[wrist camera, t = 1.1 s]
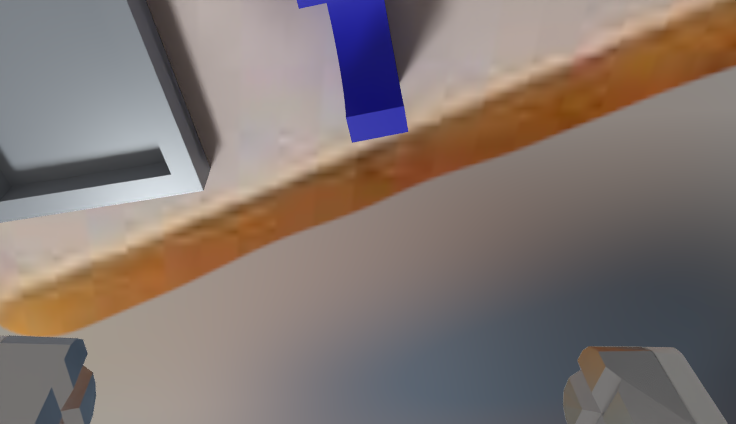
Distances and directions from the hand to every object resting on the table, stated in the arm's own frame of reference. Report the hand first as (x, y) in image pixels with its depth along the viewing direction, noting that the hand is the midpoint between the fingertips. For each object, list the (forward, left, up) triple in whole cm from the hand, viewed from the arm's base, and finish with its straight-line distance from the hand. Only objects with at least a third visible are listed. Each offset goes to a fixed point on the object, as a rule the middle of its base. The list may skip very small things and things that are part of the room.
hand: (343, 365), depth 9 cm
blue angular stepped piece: (0, +1, -26) cm, 26 cm away
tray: (+18, +2, -26) cm, 32 cm away
